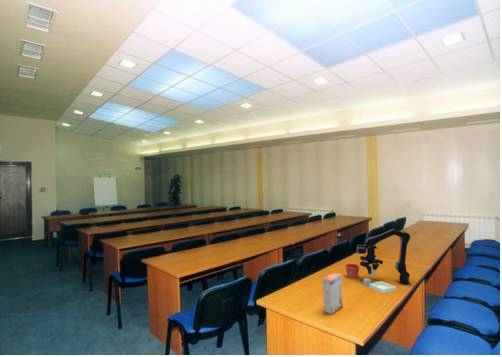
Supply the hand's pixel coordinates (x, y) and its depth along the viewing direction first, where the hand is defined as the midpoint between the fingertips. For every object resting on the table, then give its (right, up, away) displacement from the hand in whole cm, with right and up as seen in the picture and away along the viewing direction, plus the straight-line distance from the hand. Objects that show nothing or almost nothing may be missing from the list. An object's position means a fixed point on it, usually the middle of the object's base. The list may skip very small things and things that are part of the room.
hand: (371, 273), depth 212 cm
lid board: (-3, -6, -3) cm, 8 cm away
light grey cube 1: (0, -1, 0) cm, 1 cm away
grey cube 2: (-7, -6, -7) cm, 12 cm away
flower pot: (-11, -7, +11) cm, 17 cm away
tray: (+1, -6, -16) cm, 17 cm away
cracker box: (-44, -7, -44) cm, 62 cm away
